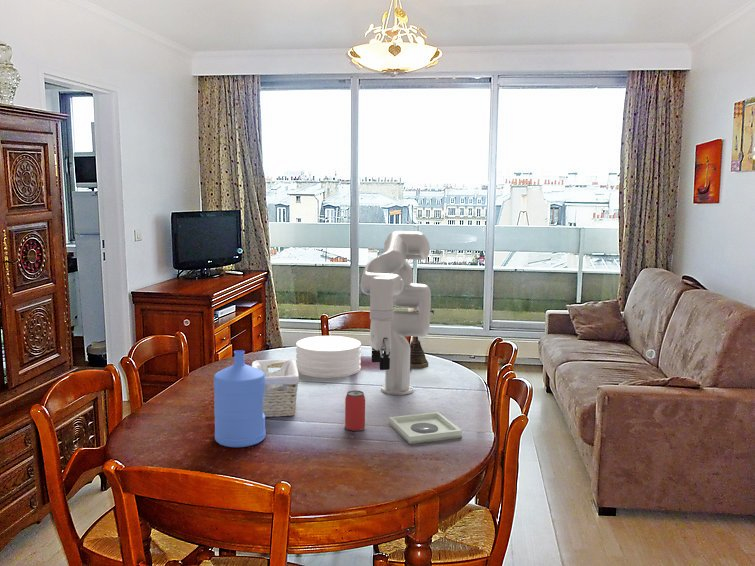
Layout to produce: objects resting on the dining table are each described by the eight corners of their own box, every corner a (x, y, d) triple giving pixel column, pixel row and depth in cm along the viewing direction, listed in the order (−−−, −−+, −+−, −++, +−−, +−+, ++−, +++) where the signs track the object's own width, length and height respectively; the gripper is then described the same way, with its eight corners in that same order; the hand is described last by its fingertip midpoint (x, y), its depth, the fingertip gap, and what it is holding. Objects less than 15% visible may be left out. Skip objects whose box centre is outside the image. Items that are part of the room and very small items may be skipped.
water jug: (241, 452, 192) (240, 361, 188) (203, 441, 200) (201, 352, 196) (276, 436, 205) (275, 350, 201) (239, 425, 213) (238, 343, 209)
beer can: (368, 426, 215) (368, 391, 213) (359, 433, 209) (359, 397, 207) (350, 423, 218) (351, 388, 216) (341, 429, 212) (341, 394, 210)
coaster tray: (388, 424, 217) (389, 417, 217) (437, 418, 223) (437, 411, 223) (409, 444, 201) (409, 436, 200) (461, 437, 207) (461, 430, 206)
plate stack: (359, 378, 269) (359, 351, 267) (291, 377, 269) (291, 350, 267) (361, 360, 296) (362, 336, 295) (300, 359, 297) (300, 335, 295)
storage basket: (252, 397, 242) (251, 359, 240) (295, 395, 245) (295, 357, 243) (251, 420, 219) (250, 377, 217) (299, 417, 222) (299, 376, 220)
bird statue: (437, 370, 282) (439, 291, 277) (408, 371, 280) (410, 291, 274) (428, 360, 298) (430, 285, 293) (400, 361, 296) (402, 285, 291)
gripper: (363, 310, 217) (362, 359, 220) (377, 319, 201) (376, 373, 203) (385, 309, 220) (383, 358, 222) (400, 319, 203) (399, 372, 205)
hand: (380, 365), depth 212 cm, fingers open, 9 cm apart
